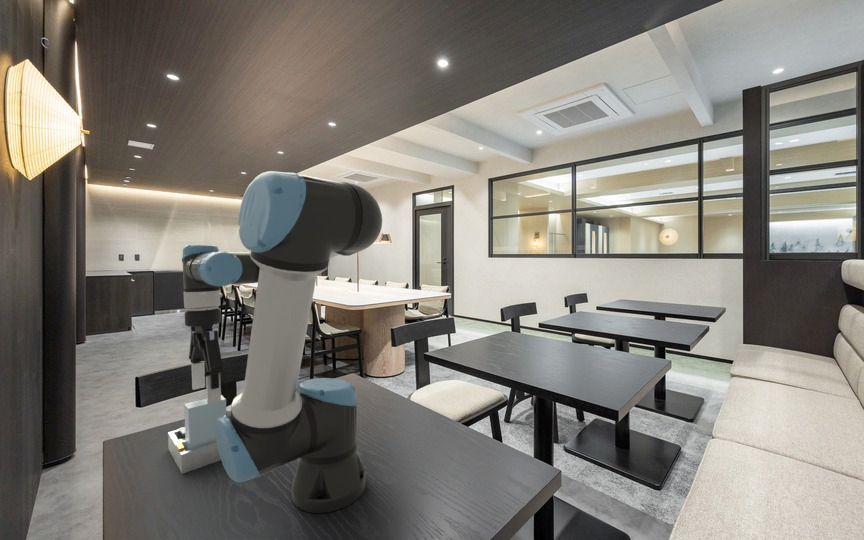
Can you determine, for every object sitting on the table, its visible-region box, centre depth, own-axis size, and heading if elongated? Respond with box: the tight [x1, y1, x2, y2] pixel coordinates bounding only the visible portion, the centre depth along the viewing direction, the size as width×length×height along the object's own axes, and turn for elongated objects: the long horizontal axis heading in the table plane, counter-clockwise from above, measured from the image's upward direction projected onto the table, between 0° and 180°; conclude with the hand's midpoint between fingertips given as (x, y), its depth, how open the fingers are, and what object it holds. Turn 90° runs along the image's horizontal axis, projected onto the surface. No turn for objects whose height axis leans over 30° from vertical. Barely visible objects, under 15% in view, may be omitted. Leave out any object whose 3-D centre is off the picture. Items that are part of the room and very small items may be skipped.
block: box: [183, 394, 227, 451], centre depth 90 cm, size 4×8×12 cm, turn 135°
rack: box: [167, 426, 221, 475], centre depth 93 cm, size 15×12×6 cm
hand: (206, 394), depth 90 cm, fingers open, 13 cm apart
